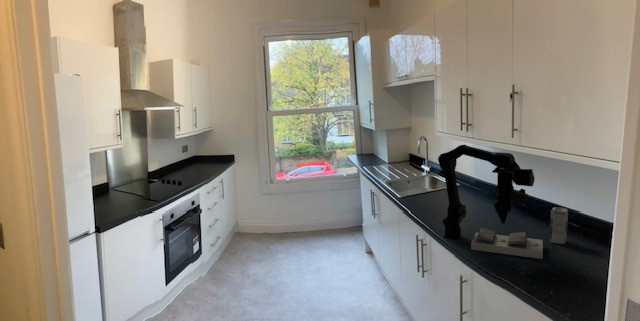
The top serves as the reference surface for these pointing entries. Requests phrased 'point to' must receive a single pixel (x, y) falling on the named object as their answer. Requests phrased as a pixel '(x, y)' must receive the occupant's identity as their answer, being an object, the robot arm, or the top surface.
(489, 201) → the top surface
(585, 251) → the top surface
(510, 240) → the right rocker
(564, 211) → the syrup box
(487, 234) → the dark grey rectangular block
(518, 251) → the double rocker switch panel
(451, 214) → the robot arm
